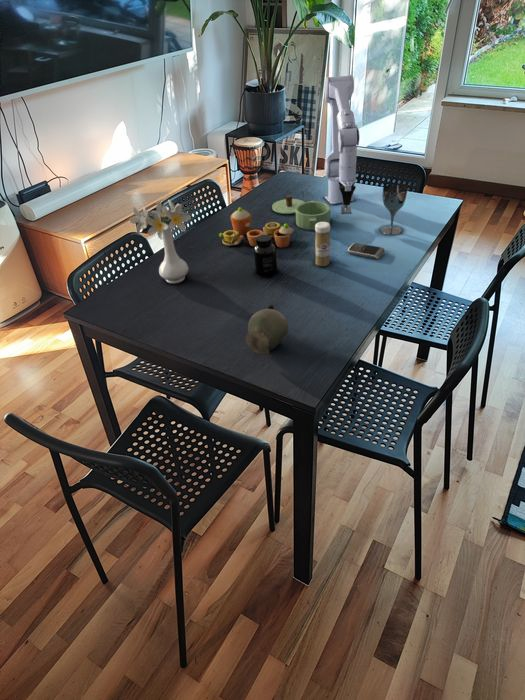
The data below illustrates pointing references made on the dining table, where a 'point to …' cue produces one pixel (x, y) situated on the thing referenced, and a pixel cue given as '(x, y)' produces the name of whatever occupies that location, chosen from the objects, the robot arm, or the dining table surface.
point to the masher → (346, 210)
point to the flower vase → (165, 237)
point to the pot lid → (287, 205)
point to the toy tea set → (243, 226)
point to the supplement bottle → (265, 256)
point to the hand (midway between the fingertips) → (346, 203)
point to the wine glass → (393, 204)
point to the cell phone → (366, 250)
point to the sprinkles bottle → (322, 243)
